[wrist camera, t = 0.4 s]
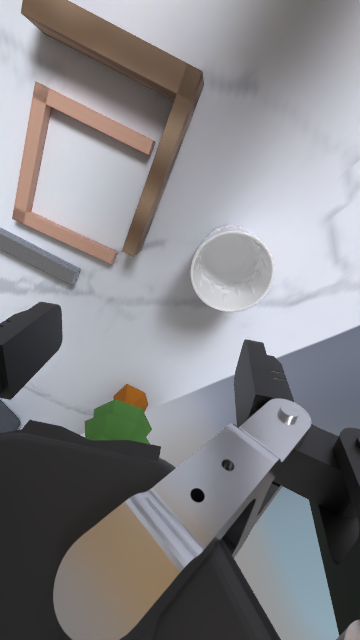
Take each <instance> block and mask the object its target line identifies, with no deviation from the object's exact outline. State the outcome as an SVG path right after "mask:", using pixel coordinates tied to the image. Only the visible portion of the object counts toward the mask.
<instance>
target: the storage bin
mask: <svg viewBox="0 0 360 640" xmlns="http://www.w3.org/2000/svg"><path fill="white" fill-rule="evenodd" d="M19 425H20V421H19V419H18V418H17V417H16V416H15V415H14V414H13V413H12V412H11V411H10V410H9V409H8V408H7V407H6V405H5V404H4V403H3V402H2V401H1V400H0V433H2V432H7V431H15V430H17V428H18V427H19Z"/></svg>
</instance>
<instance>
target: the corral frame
mask: <svg viewBox="0 0 360 640" xmlns="http://www.w3.org/2000/svg"><path fill="white" fill-rule="evenodd" d="M51 107H53V108H55V109H57V110H59V111H61V112H63V113H65V114H67V115H69V116H71V117H73V118H75V119H77V120H79V121H81V122H83V123H85V124H87V125H89V126H91V127H93V128H95V129H97V130H99V131H101V132H103V133H105V134H107V135H109V136H111V137H113V138H115V139H117V140H119V141H121V142H123V143H125V144H127V145H129V146H131V147H133V148H135V149H137V150H139V151H141V152H143V153H145V154H147V155H150V156H151V154H152V151H153V148H154V145H155V141H154V140H152V139H150V138H148V137H146V136H144V135H142V134H140V133H138V132H136V131H134V130H132V129H130V128H128V127H126V126H124V125H122V124H120V123H118V122H116V121H114V120H112V119H110V118H108V117H106V116H104V115H102V114H100V113H98V112H96V111H94V110H92V109H90V108H88V107H86V106H84V105H82V104H80V103H78V102H76V101H74V100H72V99H70V98H68V97H66V96H64V95H62V94H60V93H58V92H56V91H54V90H52V89H50V88H48V87H46V86H44V85H42V84H40V83H38V82H36V81H35V86H34V92H33V98H32V104H31V110H30V116H29V122H28V128H27V134H26V140H25V146H24V152H23V158H22V164H21V170H20V176H19V182H18V188H17V194H16V199H15V205H14V211H13V217H12V219H14V220H16V221H18V222H20V223H23V224H25V225H27V226H29V227H31V228H33V229H36V230H38V231H40V232H42V233H44V234H46V235H49V236H51V237H53V238H55V239H57V240H59V241H62V242H64V243H66V244H68V245H70V246H73V247H75V248H77V249H79V250H81V251H83V252H86V253H88V254H90V255H92V256H94V257H96V258H99V259H101V260H103V261H105V262H107V263H109V264H112V263H114V261H115V258H116V255H117V251H115V250H112V249H110V248H108V247H106V246H104V245H102V244H99V243H97V242H95V241H93V240H91V239H89V238H87V237H84V236H82V235H80V234H78V233H76V232H74V231H72V230H69V229H67V228H65V227H63V226H61V225H59V224H56V223H54V222H52V221H50V220H48V219H46V218H44V217H41V216H39V215H37V214H35V213H33V212H31V210H32V205H33V200H34V195H35V190H36V185H37V179H38V174H39V169H40V164H41V159H42V154H43V148H44V143H45V138H46V133H47V128H48V123H49V118H50V112H51Z"/></svg>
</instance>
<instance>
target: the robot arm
mask: <svg viewBox="0 0 360 640" xmlns="http://www.w3.org/2000/svg"><path fill="white" fill-rule="evenodd" d="M61 343H62V313H61V307H60V306H59V305H57V304H51V303H46V302H39V303H38V304H36V305H35V306H33V307H32V308H30V309H29V310H26V311H23V312H20V313H17V314H14V315H13V316H11V317H10V318H8V319H6V321H3V322H2V323H0V398H5V399H10V400H11V399H12V398H13V397H14V396H15V395H16V394H17V393H18V392H19V391H20V389H21V388H22V387H23V386H24V385H25V384H26V383H27V382H28V381H29V380H30V379H31V378H32V377H33V376H34V375H35V374H36V373H37V372H38V371H39V370H40V369H41V368H42V367H43V366H44V364H45V363H46V362H47V361H48V360H49V359H50V358H51V357H52V356H53V355H54V354H55V353H56V352H57V351H58V350H59V348H60V346H61ZM286 380H287V379H286V376H285V374H284V371H283V368H282V365H281V363H280V362H279V361H278V360H277V359H276V358H275V357H274V356H269V355H267V354H266V351H265V347H264V344H263V343H262V342H257V341H251V340H246V339H245V340H244V343H243V346H242V349H241V353H240V357H239V360H238V364H237V367H236V371H235V378H234V390H235V404H236V418H237V426H236V425H234V424H229V425H228V426H226V427H225V428H224V429H223V430H221V431H220V432H219V433H218V434H217V435H215V436H214V437H213V438H212V439H211V440H209V441H208V442H207V443H206V444H205V445H203V446H202V447H201V448H200V449H199V450H197V451H196V452H195V453H194V454H192V455H191V456H190V457H189V458H188V459H186V460H185V461H184V462H183V463H182V464H180V465H179V466H178V467H177V468H175V467H174V466H173V465H171V464H170V463H168V462H167V461H165V460H163V459H161V458H159V455H160V449H161V447H160V446H155V445H150V444H145V443H141V442H136V441H131V440H89V439H87V438H85V437H82V436H80V435H78V434H76V433H74V432H72V431H70V430H68V429H66V428H64V427H62V426H57V425H52V424H47V423H42V422H37V421H32V420H29V421H28V423H27V424H26V425H25V426H24V428H23V429H22V430H15V431H7V432H2V433H0V640H281V639H280V638H279V636H278V634H277V632H276V631H275V629H274V627H273V625H272V624H271V622H270V620H269V619H268V617H267V615H266V613H265V612H264V610H263V608H262V606H261V605H260V603H259V601H258V599H257V598H256V596H255V594H254V593H253V591H252V589H251V587H250V586H249V584H248V582H247V581H246V579H245V577H244V575H243V574H242V572H241V570H240V568H239V567H238V565H237V563H236V561H235V560H234V558H235V556H236V555H237V553H238V551H239V550H240V549H241V547H242V546H243V544H244V542H245V541H246V539H247V537H248V535H249V534H250V532H251V530H252V528H253V527H254V525H255V524H256V522H257V521H258V520H259V518H260V517H261V515H262V514H263V513H264V511H265V510H266V509H267V507H268V506H269V504H270V503H271V502H272V500H273V499H274V497H275V496H276V495H277V493H278V492H279V491H280V489H281V488H282V486H283V487H285V488H287V489H289V490H291V491H294V492H295V493H297V494H299V495H301V496H303V497H305V498H307V499H309V502H310V506H311V511H312V515H313V519H314V524H315V529H316V533H317V537H318V542H319V546H320V551H321V556H322V560H323V564H324V569H325V574H326V578H327V582H328V587H329V591H330V596H331V600H332V605H333V609H334V614H335V618H336V622H337V627H338V632H339V637H338V638H337V639H336V640H360V429H357V428H346V429H344V430H342V432H341V433H340V435H339V436H336V435H334V434H332V433H329V432H327V431H325V430H322V429H320V428H318V427H316V426H314V425H312V424H311V419H310V416H309V414H308V413H307V412H306V411H305V410H304V409H303V408H302V407H301V406H299V405H298V404H296V403H294V400H293V397H292V394H291V391H290V388H289V385H288V382H287V381H286Z"/></svg>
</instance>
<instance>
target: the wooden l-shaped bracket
mask: <svg viewBox="0 0 360 640" xmlns="http://www.w3.org/2000/svg"><path fill="white" fill-rule="evenodd" d="M21 13H22V14H23V15H24V16H25V17H26V18H27V19H28V20H29V21H31V22H32V23H33V24H34V25H35V26H36V27H37V28H38V29H40V30H41V31H42V32H43V33H44V34H46V35H48V36H50V37H52V38H54V39H56V40H58V41H60V42H62V43H64V44H66V45H68V46H70V47H72V48H74V49H75V50H77V51H79V52H81V53H83V54H85V55H87V56H89V57H91V58H93V59H95V60H97V61H99V62H101V63H103V64H105V65H107V66H108V67H110V68H112V69H114V70H116V71H118V72H120V73H122V74H124V75H126V76H128V77H130V78H132V79H134V80H136V81H138V82H139V83H141V84H143V85H145V86H147V87H149V88H151V89H153V90H155V91H157V92H159V93H161V94H163V95H165V96H167V97H169V98H171V99H172V100H174V103H173V106H172V109H171V112H170V115H169V118H168V121H167V123H166V126H165V129H164V132H163V135H162V138H161V141H160V143H159V146H158V149H157V152H156V155H155V158H154V161H153V163H152V166H151V169H150V172H149V175H148V178H147V181H146V183H145V186H144V189H143V192H142V195H141V198H140V201H139V203H138V206H137V209H136V212H135V215H134V218H133V221H132V223H131V226H130V229H129V232H128V235H127V238H126V241H125V243H124V246H123V249H122V252H124V253H127V254H129V255H131V256H133V257H134V256H135V255H136V254H137V253H138V252H140V251H141V249H142V246H143V244H144V241H145V238H146V236H147V233H148V231H149V228H150V225H151V223H152V220H153V217H154V215H155V212H156V209H157V207H158V204H159V202H160V199H161V196H162V194H163V191H164V188H165V186H166V183H167V181H168V178H169V175H170V173H171V170H172V167H173V165H174V162H175V159H176V157H177V154H178V152H179V149H180V146H181V144H182V141H183V138H184V136H185V133H186V131H187V128H188V125H189V123H190V120H191V117H192V115H193V112H194V109H195V107H196V104H197V102H198V99H199V96H200V94H201V91H202V88H203V86H204V81H203V73H202V71H201V70H199V69H197V68H195V67H193V66H191V65H189V64H187V63H186V62H184V61H182V60H180V59H178V58H176V57H174V56H172V55H170V54H168V53H167V52H165V51H163V50H161V49H159V48H157V47H155V46H153V45H151V44H150V43H148V42H146V41H144V40H142V39H140V38H138V37H136V36H134V35H132V34H131V33H129V32H127V31H125V30H123V29H121V28H119V27H117V26H115V25H114V24H112V23H110V22H108V21H106V20H104V19H102V18H100V17H98V16H96V15H95V14H93V13H91V12H89V11H87V10H85V9H83V8H81V7H79V6H78V5H76V4H74V3H72V2H70V1H68V0H23V2H22V10H21Z"/></svg>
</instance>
